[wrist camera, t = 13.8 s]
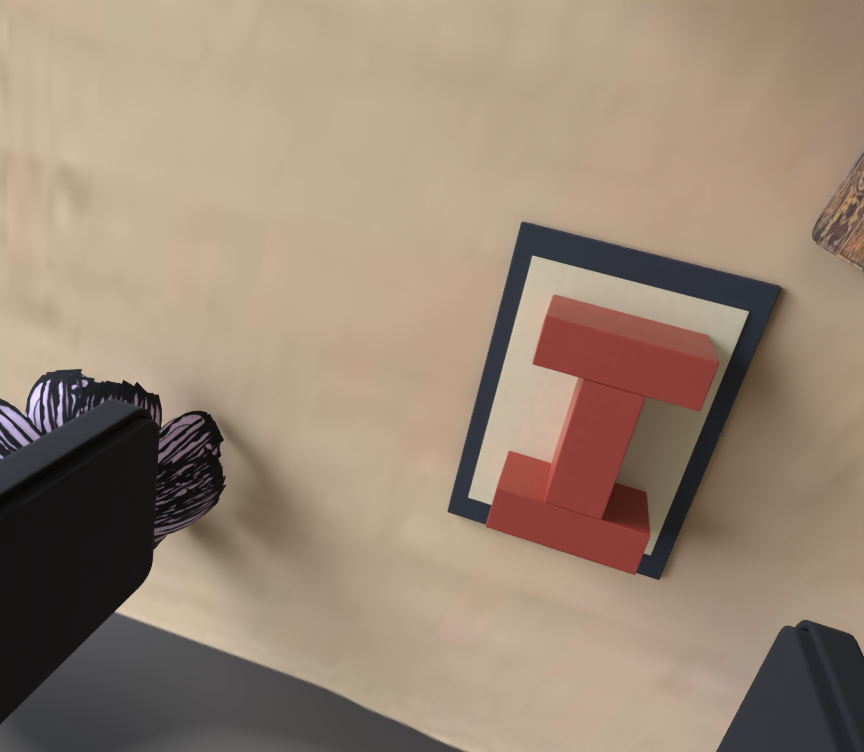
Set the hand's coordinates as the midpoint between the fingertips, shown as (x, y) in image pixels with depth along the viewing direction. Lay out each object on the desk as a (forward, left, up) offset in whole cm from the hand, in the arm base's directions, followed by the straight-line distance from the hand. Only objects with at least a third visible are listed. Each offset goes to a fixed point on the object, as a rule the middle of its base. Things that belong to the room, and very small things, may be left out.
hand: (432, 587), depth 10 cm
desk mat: (+4, -8, -28) cm, 30 cm away
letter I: (+4, -8, -28) cm, 29 cm away
